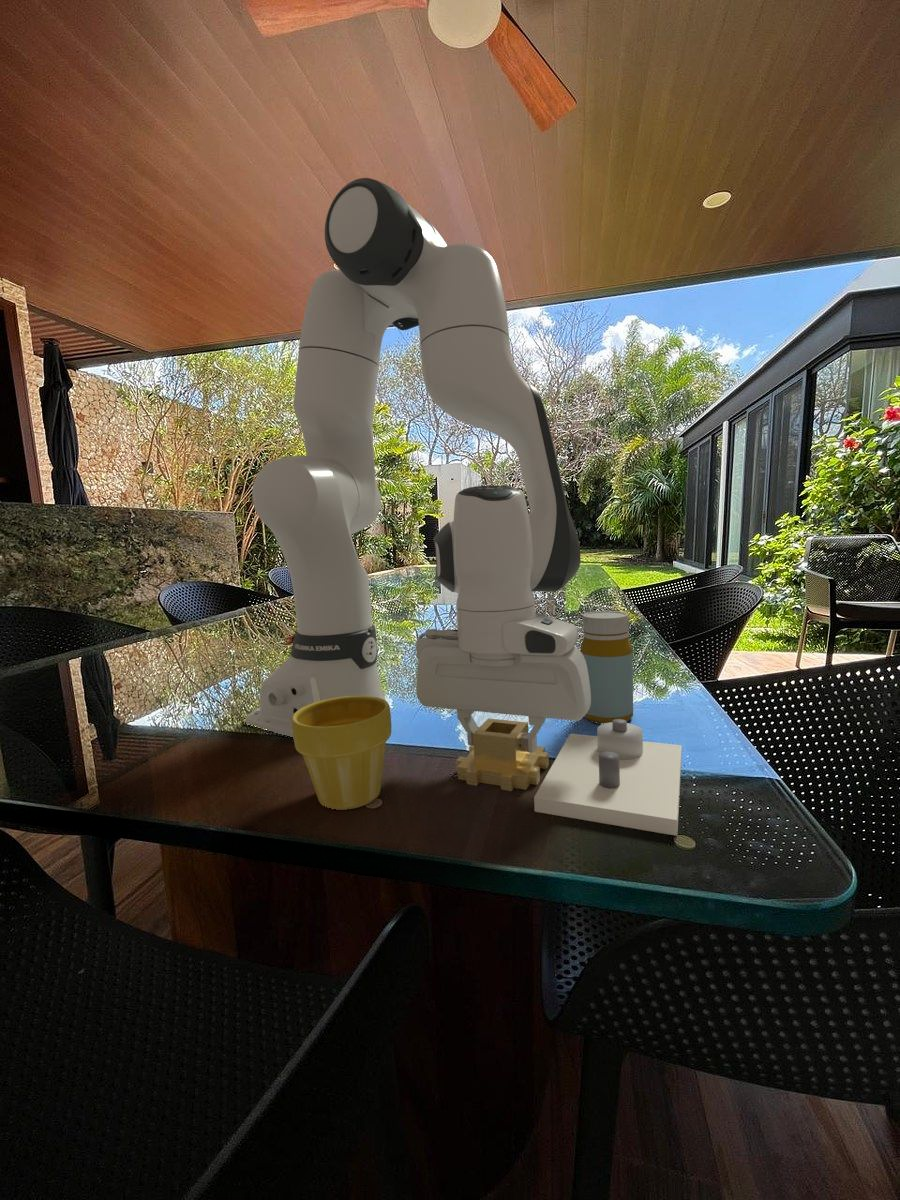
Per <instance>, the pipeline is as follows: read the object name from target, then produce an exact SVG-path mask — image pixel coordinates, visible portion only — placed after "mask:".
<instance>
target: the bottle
mask: <svg viewBox="0 0 900 1200" xmlns="http://www.w3.org/2000/svg"><path fill="white" fill-rule="evenodd" d="M629 619H630V616H629V613H627V612H624V611H617V610H616V611H614V610H600V611H591V612H586V613H583V615H582V629H583V631H582V633H583V639H582V641H581V644H580V651H581V653H582V654H583V656H584V658H585V661H586V665H587V669H588V675H589V682H590V692H591V705H590V709H589V711H588V712H587V714H586V715H585V716H584V717H585V718H586V719H587V721H589V720H590V721H589V722H591V721H593V722H597V723H603V724H604V723H610V722H612V721H613V720H615V719H622V720H625V721H628V720H629V721H630V720H631V718H633V716H634V672H633V671H634V669H633V668H634V666H633V665H634V660H633V645H632V644H631V640H630V634H629V633H630V632H629V629H630V621H629ZM629 721H628V722H629ZM593 722H592V723H593ZM597 723H596V724H597Z"/></svg>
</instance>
